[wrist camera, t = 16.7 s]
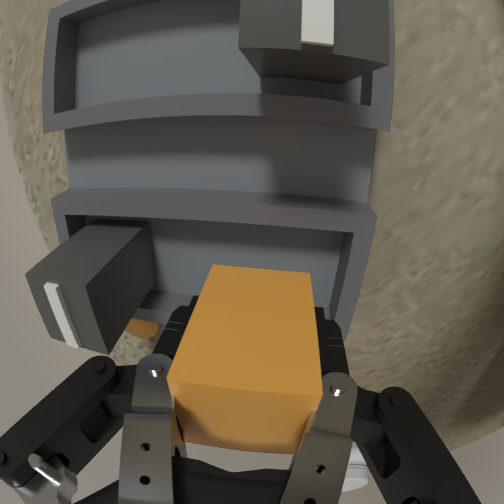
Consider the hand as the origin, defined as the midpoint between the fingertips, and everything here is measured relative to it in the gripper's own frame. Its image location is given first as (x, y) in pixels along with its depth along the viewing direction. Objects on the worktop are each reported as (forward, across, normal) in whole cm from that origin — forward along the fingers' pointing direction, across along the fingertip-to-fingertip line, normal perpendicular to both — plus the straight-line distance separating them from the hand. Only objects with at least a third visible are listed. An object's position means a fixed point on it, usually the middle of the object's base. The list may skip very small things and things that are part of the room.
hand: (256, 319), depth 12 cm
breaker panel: (+7, +4, -6) cm, 10 cm away
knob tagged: (+5, +9, 0) cm, 10 cm away
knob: (+5, -1, -12) cm, 13 cm away
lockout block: (+1, 0, 0) cm, 1 cm away
